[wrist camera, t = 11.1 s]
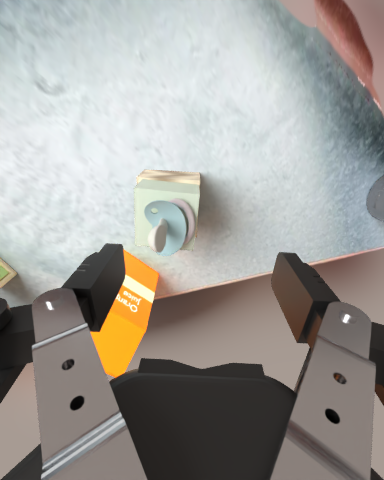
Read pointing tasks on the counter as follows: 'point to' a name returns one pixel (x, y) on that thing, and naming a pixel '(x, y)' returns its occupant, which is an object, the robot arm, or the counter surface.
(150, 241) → the pacifier
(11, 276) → the toy refrigerator
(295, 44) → the counter surface
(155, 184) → the sage block
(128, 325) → the orange juice
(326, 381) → the robot arm
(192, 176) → the maple block
